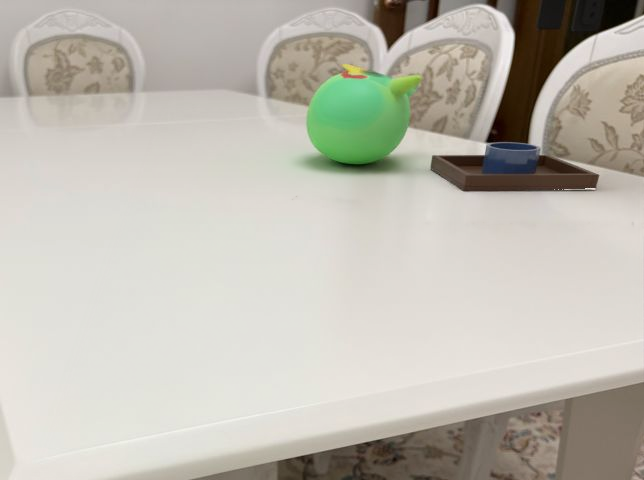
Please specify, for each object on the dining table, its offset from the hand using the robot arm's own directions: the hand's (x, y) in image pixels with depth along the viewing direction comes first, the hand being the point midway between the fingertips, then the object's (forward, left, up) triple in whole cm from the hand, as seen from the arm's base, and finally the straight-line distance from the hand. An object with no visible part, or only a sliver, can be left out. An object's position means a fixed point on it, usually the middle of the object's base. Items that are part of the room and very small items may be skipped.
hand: (565, 30), depth 90 cm
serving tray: (+4, +1, -19) cm, 20 cm away
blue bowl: (+4, +1, -19) cm, 19 cm away
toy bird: (+23, -12, -20) cm, 32 cm away
